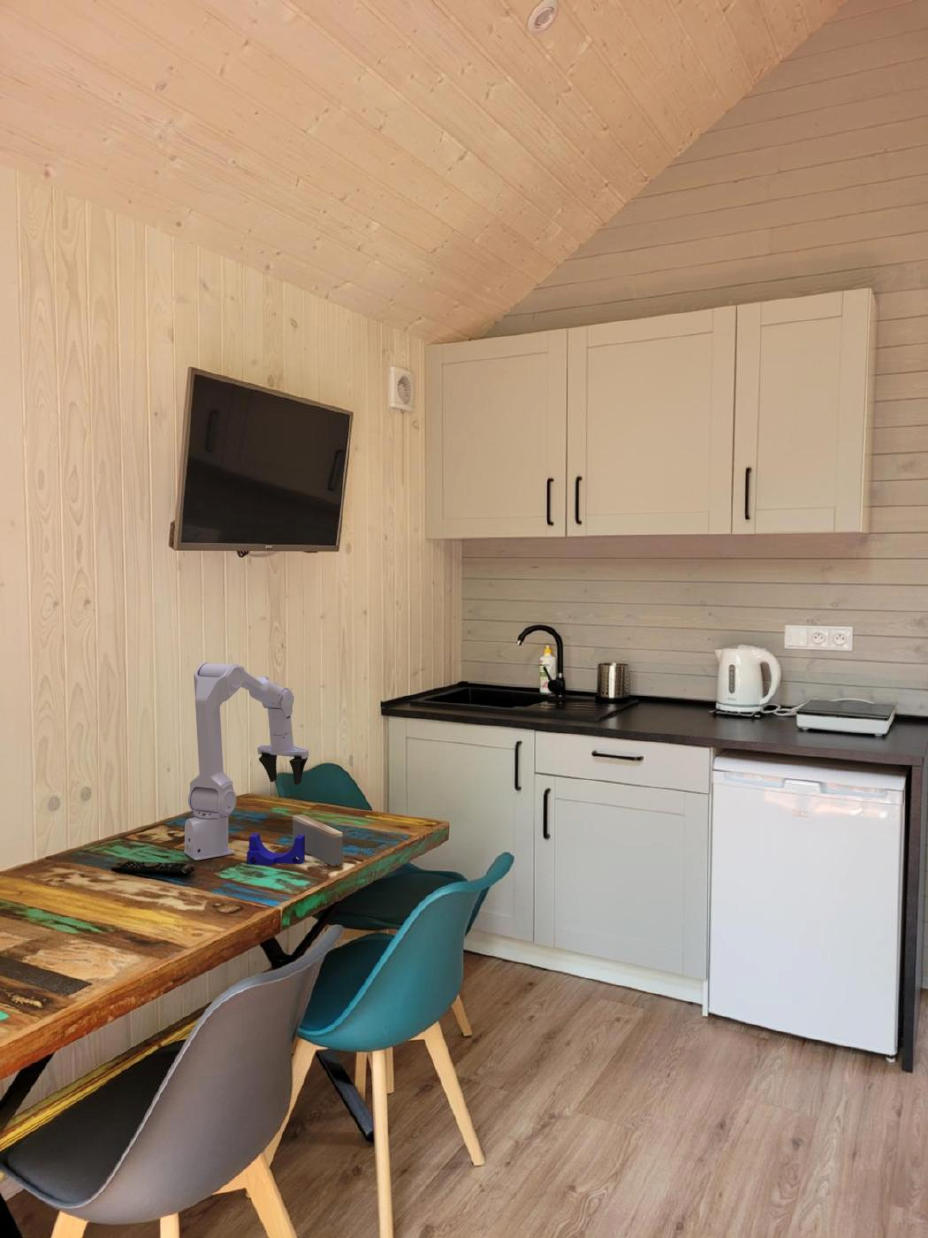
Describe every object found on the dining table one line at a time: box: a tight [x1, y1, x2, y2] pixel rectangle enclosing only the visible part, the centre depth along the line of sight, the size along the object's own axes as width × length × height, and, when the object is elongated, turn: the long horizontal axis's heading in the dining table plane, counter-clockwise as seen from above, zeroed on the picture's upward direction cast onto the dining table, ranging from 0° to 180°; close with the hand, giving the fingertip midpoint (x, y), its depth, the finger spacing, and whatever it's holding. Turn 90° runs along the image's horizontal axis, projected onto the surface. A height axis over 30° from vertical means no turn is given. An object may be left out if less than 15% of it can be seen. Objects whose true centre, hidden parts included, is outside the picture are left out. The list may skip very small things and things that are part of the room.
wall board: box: [292, 813, 344, 867], centre depth 217 cm, size 2×20×7 cm, turn 36°
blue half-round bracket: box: [246, 832, 306, 866], centre depth 211 cm, size 12×4×6 cm, turn 85°
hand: (285, 782), depth 245 cm, fingers open, 7 cm apart
